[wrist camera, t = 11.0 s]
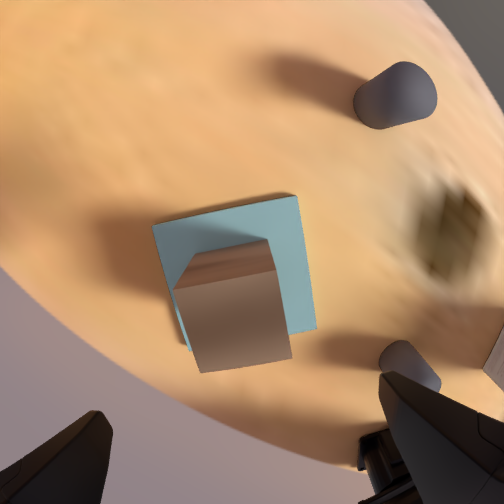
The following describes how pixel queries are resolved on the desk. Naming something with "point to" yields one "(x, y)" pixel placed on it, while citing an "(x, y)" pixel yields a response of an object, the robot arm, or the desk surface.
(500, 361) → the supplement box
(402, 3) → the desk surface
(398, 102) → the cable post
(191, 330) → the walnut block
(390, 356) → the cylinder
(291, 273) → the pale teal mat
